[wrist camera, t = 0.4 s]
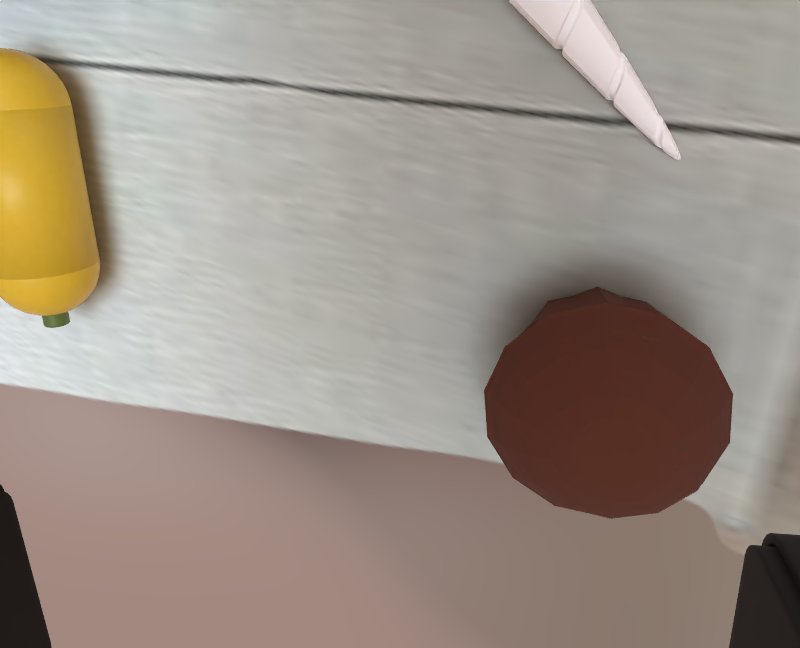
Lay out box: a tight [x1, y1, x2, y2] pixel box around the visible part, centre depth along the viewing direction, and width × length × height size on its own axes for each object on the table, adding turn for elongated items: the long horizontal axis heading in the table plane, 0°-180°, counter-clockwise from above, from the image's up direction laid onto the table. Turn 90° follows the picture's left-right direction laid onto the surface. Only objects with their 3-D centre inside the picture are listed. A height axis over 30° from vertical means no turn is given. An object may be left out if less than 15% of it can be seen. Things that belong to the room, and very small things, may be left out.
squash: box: [0, 48, 100, 328], centre depth 38 cm, size 15×6×6 cm, turn 1°
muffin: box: [484, 287, 733, 518], centre depth 35 cm, size 12×11×10 cm
